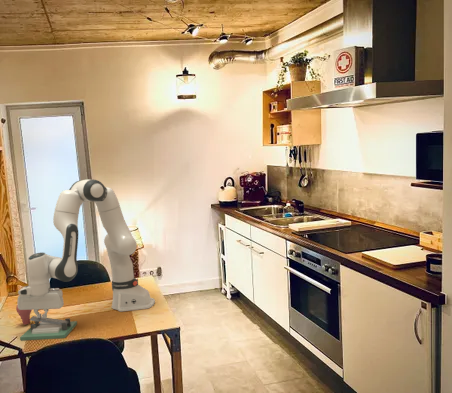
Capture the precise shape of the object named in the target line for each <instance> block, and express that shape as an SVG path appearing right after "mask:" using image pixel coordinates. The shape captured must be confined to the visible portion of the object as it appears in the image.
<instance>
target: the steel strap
mask: <svg viewBox="0 0 452 393" xmlns="http://www.w3.org/2000/svg"><path fill="white" fill-rule="evenodd" d="M31 321H32V322H35V321H38V322H39V323H40V322H45V323H53V324H60V325H62V324H61V323H62V322H67V324H68V323H69V321H68V320H65V319H58V318H51V317H47V318H42V317H41V318H39V319H37V315H32V316H30V322H31Z"/></svg>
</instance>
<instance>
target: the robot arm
mask: <svg viewBox="0 0 452 393" xmlns="http://www.w3.org/2000/svg"><path fill="white" fill-rule="evenodd" d="M90 202H94V203H95V206H96V208H97V212H98V215H99V218H100V221H101V224H102V227H103V228H104V229H105V231H106V233H107V234H106V235H105V236H104V239H103V240H104V241H103V242H104V243H103V244H104V246H105V248H106V252H107V256H108V260H109V263H110V264H109V265H110V268H111V277H112V278H111V289H112V303H111V308H112V309H113V310H117V311H118V312H129V311H137V310H138V311H139V310H146V309H150V308H152V307H154V305H155V303H156V301H155V298H153V297H151V295H150V292H149V290H148V289H146V288H145V287H143V286H141V285H140V284H139V278H135V274H134V264H133V260H132V259H131V257H130V256H131V255H133V254H134V253H135V252H136V250H137V247H138V244H137V241H136V239H135V238H134V236H133V234H132V233H131V230H130V228H129V226H128V224H127V223H126V221H125V218H124V215H123V212H122V208H121V206H120V203H119V199H118V198H117V195H116V193H115V191H114V190H113V188H112V187H108V186H105V185H104V184H103V183H102V182H101V181H100V180H97V179H82V180H78V181H75V182H74V183H72V184H71V187H70V188H69V189H65V190H62V191H61V192H60V193H59V196H58V199H57V200H56V204H55V208H54V213H53V218H52V219H53V220H52V221H53V225H54V227H55V229H56V230H57V231H59V233H60V234H61V235H62V238H63V246H62V247H63V248H62V256H61V257H59V256H53V255H50V254H46V252H36V253H34V254H31V255H30V256H29V257H28V259H27V276H28V285H25V286H24V287H22V288H20V289H19V290H18V292H17V293H18V297H17V300H16V301H17V305H18V309H19V310H33V313H34V314H35V316H37V319H39V318H41V317H42V318H48V317H47V316H48V315H47V314H48V312H49V310H57V309H62V308H63V307H64V305H65V303H64V298H63V294H64V293H63V290H62V289H60V288H59V287H55V288H54V287H53V288H52V287H51V285H50V280H51V278H53V279H57V280H59V281H61V282H64V283H65V282H66V283H67V282H68V283H69V282H70V281H72V280H73V279H75V277H76V276H77V274H78V271H79V269H78V268H79V267H78V266H79V265H78V259H77V256H78V248H79V247H78V246H79V227H78V225H79V224H78V223H79V214H80V209H81V206H82V205H83V203H90ZM17 305H16V306H17ZM39 310H43V311H44V313H40V312H39Z"/></svg>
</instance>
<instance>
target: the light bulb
mask: <svg viewBox="0 0 452 393" xmlns="http://www.w3.org/2000/svg"><path fill="white" fill-rule="evenodd" d="M15 309H16V312H17V314H18V315H19V317H20V319H21V321H22V324H23V325H26V326H27V325H29V324H30V323H31V321H30V318H31V316H30V315H31V313H32V310H19V309H18V305H16V308H15Z"/></svg>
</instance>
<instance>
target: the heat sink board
mask: <svg viewBox="0 0 452 393" xmlns="http://www.w3.org/2000/svg"><path fill="white" fill-rule="evenodd" d="M64 320H68V321H69V323H68V324H67V322H62V323H61V324H62V325H60V324H53V323H45V322H38V321H34V323H31V324H30V328H28V329H27V331H25V332H24V333H23V334H22V335H21V336H19V340H21V341H38V340H40V341H41V340H55V339H56V340H58V339H66V337H67V336H68V335H69V334H70V333H71V332H72V331H73V330H74V328H75V327H76V326H77V325H78V321H77V320H74V321H71V318H69V317H68V318H64Z"/></svg>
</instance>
